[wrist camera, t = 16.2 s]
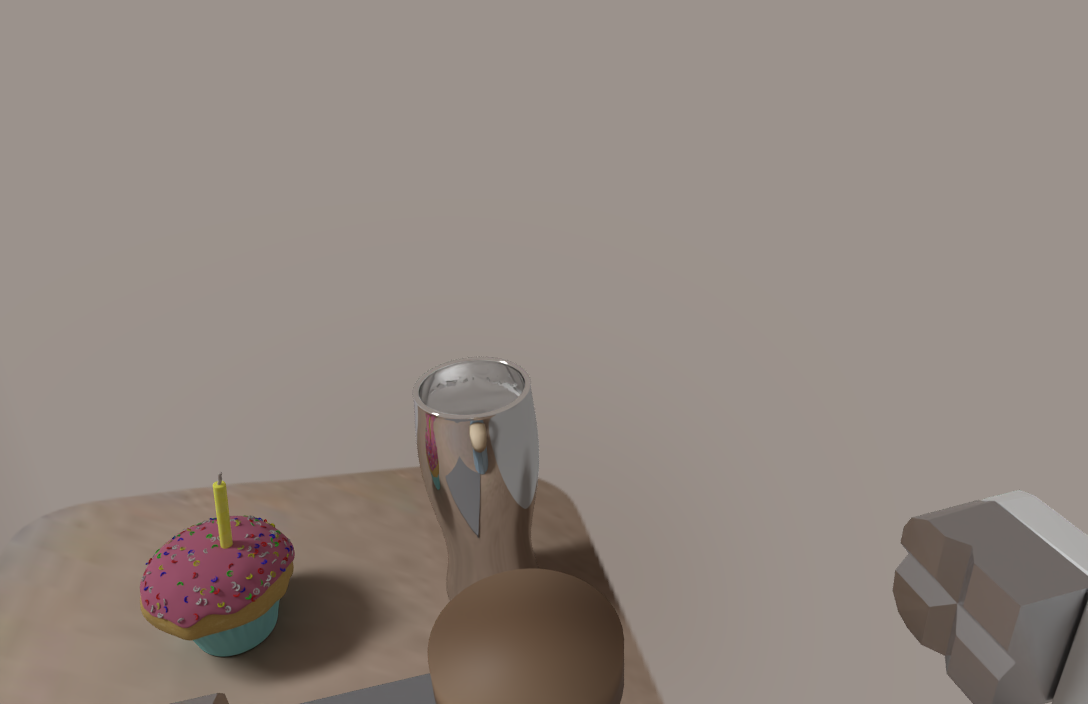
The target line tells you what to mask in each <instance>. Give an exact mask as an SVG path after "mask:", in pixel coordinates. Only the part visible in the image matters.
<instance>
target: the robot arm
mask: <svg viewBox="0 0 1088 704" xmlns="http://www.w3.org/2000/svg"><path fill="white" fill-rule="evenodd" d="M901 544H902V545H903V547H904V548H905V549H906V550H907V552H908V553H909V554H908V555H907V556H906V557H905V559H904V560H903V561H902V563H901V564H900V565H899V566H898V567H897V569H896V570H895V577H894V586H893V593H894V597H895V600H896V605H897V608H898V612H899V614H900V615H901V617H902V619H903V621H904V623H905V624H906V626H907V628H908V629H909V630H910V632H911V633H912V634H913V635H914V636H915V637H916V639H917V640H918V641H919V642H920V643H921V645H924V646H926V647H928V648H930V649H932V650H934V651H936V652H938V653H940V654H943V655H945V661H946V671H947V674H948V676H949V677H950V678H951V679H952V680H953V681H954V683H955V684H956V685H957V686H958V687H959V688H960V689H961V690H962V692H963V693H964V694H965V695H966V696H967V697H968V698H969V700H970V701H971V702H972V703H973V704H1045V703H1049V702H1052V704H1088V535H1086V534H1085V533H1084V532H1082V531H1081V530H1080V529H1078V528H1077V527H1076V526H1074V525H1073V524H1072V523H1071V522H1069V521H1068V520H1067V519H1065V518H1064V517H1063V516H1061V515H1060V514H1059V513H1057V512H1056V511H1054V510H1053V509H1052V508H1051V507H1049V506H1048V505H1047V504H1045V503H1044V502H1043V501H1041V500H1040V499H1039V498H1037V497H1036V496H1034V495H1032V494H1030V493H1027V492H1024V491H1021V490H1017V491H1013V492H1009V493H1005V494H1001V495H997V496H993V497H990V498H986V499H983V500H981V501H973V502H969V503H965V504H962V505H958V506H954V507H950V508H947V509H943V510H939V511H935V512H931V513H927V514H924V515H920V516H916V517H913V518H911V519H910V520H909V521H908V523H907V524H906V525H905V526H904V529H903V534H902V538H901ZM171 704H229V703H228V700H227V698H226V696H225V694H223V693H216V694H211V695H207V696H202V697H198V698H193V699H189V700H185V701H180V702H176V703H171Z"/></svg>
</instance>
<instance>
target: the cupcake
mask: <svg viewBox="0 0 1088 704" xmlns="http://www.w3.org/2000/svg"><path fill="white" fill-rule="evenodd" d="M221 475H222V472H219V473H218V481H217V482H215V483H214V484H213V491H214V499H215V506H216V514H217V518H209V519H210V520H209V521H204V522H202V523H199V524H197V525H193V526H191V527H190V528H188V529H184V530H185V531H183V532H181V533H179V534H177V535H176V536H174V537H173V538H172V539H171V540H169V541H168V542H167V543H165V544H164V546H163V547H162V548H161V549H158V550H157V551H156V553H155V555H154V556H153V558H151V559H150V560H151V561H150V560H149V562H148V563H146V564H145V565H147V564H149V565H148V566H147V568H146V570H145V572H144V575H143V577H142V580H141V584H140V593H141V598H140V605H141V611H142V614H143V616H144V617H145V618H146V620H147V621H148V622H149V623H151V624H152V625H153V626H155V627H156V628H158V629H159V630H162V631H164V632H166V633H169V634H171V635H174V636H177V637H179V638H182V639H185V640H193V641H194V642H195V643H196V644H197V645H198V646H199V647H200V648H201V649H202V650H203V651H204V652H206V653H208V654H211V655H214V656H232V655H237V654H240V653H243V652H246V651H248V650H250V649H252V648H254V647H255V646H257V645H258V644H260V643H261V642H262V641H263V640H264V639H266V638H267V636H268V635H269V634H270V633H271V632H272V630H273V629H274V627H275V625H276V622H277V618H278V608H279V600H280V599H281V598H282V597H283V596H284V594H285V593H286V590H287V587H288V583H289V580H290V577H291V576H292V574H293V560H294V556H295V553H294V548H293V545H292V543H291V542H290V539H288V538H287V537H286V536H285V535H283V534H282V533H281V532H280V531H279V530H277V529H276V528H275V525H274V524H272V523H271V524H269V523H268V522H267V520H266V519H265V520H264V522H263V520H262V519H261V518H255V517H252V516H229V508H228V499H227V491H226V484H225V482H224V481H222V477H221ZM260 519H261V520H260ZM265 521H266V522H265ZM271 525H272V526H271Z"/></svg>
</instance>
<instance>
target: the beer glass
mask: <svg viewBox="0 0 1088 704" xmlns="http://www.w3.org/2000/svg"><path fill="white" fill-rule="evenodd" d="M413 399H414V410H415V411H414V413H415V431H416V442H417V450H418V458H419V463H420V468H421V473H422V478H423V481H424V484H425V487H426V491H427V494H428V497H429V500H430V502H431V505H432V508H433V510H434V513H435V515H436V518H437V520H438V523H439V525H440V528H441V530H442V533H443V536H444V539H445V542H446V546H447V552H448V566H447V577H446V590H447V595H448V597H449V600H450V601H451V600H452V599H453V598H454V597H455V596H456V595H458V594H459V593H460V592H461V591H463V590H464V589H465V588H467V587H469V586H470V585H472V584H474V583H475V582H477V581H480V580H482V579H484V578H486V577H489V576H492V575H494V574H498V573H501V572H505V571H510V570H517V569H529V568H531V569H539V567H538V564H537V561H536V557H535V554H534V551H533V547H532V540H531V527H532V519H533V512H534V505H535V498H536V491H537V484H538V471H539V441H538V430H537V422H536V415H535V409H534V403H533V397H532V391H531V380H530V377H529V375H528V373H527V372H526V371H525V370H524V369H523V368H522V367H521V366H519V365H517V364H515V363H513V362H511V361H508V360H504V359H500V358H494V357H468V358H462V359H456V360H453V361H449V362H446V363H443V364H440V365H438V366H436V367H434V368H432V369H430V370H429V371H427V372H426V373H424V374H423V375H422V376H421V377H420V378H419V379H418V380H417V382H416V383H415V385H414V387H413Z"/></svg>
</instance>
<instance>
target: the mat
mask: <svg viewBox="0 0 1088 704" xmlns="http://www.w3.org/2000/svg"><path fill="white" fill-rule="evenodd" d="M301 704H436V702H435V698H434V692H433V686H432V681H431V675H430V673H429V674H425V675H421V676H416V677H412V678H408V679H404V680H399V681H395V682H391V683H386V684H382V685H378V686H374V687H369V688H365V689H361V690H356V691H352V692H348V693H344V694H339V695H335V696H331V697H327V698H322V699H318V700H314V701H309V702H305V703H301Z"/></svg>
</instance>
